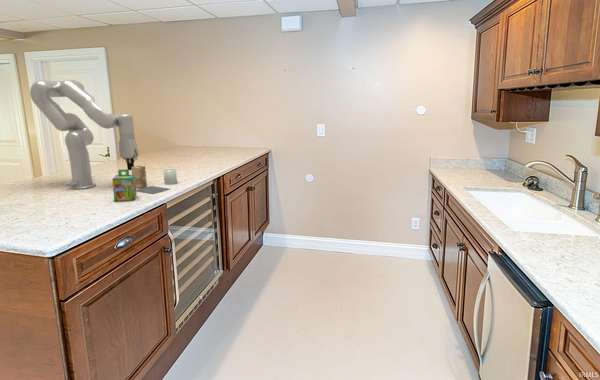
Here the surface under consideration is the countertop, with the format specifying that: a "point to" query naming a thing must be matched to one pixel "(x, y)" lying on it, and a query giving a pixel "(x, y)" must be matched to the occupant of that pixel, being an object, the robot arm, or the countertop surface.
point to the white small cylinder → (170, 176)
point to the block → (139, 176)
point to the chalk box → (124, 186)
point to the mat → (152, 190)
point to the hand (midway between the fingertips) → (131, 169)
